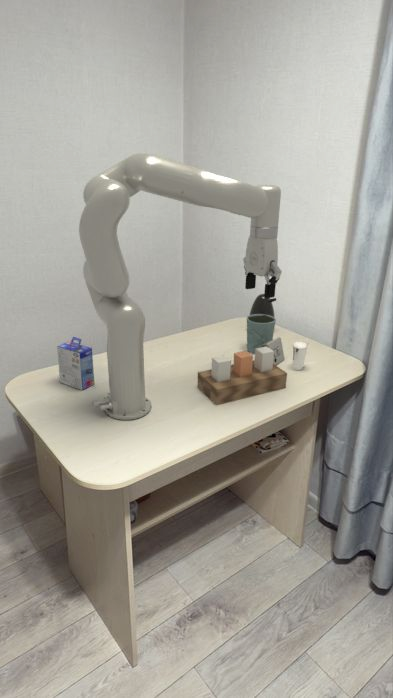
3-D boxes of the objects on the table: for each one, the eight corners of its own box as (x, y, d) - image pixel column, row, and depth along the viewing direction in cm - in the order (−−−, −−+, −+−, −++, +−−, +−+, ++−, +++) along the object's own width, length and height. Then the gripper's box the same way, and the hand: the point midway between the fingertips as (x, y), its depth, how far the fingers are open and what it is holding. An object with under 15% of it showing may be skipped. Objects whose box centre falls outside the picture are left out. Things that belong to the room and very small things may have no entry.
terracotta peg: (240, 378, 138) (241, 358, 136) (233, 372, 141) (234, 353, 139) (251, 375, 140) (252, 355, 137) (244, 370, 143) (245, 350, 140)
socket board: (216, 405, 133) (217, 389, 131) (197, 387, 142) (197, 372, 140) (285, 387, 143) (287, 373, 141) (263, 371, 152) (264, 357, 150)
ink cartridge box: (96, 383, 143) (92, 340, 138) (83, 391, 139) (78, 346, 133) (72, 375, 148) (68, 333, 142) (59, 382, 144) (54, 339, 138)
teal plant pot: (243, 353, 166) (245, 321, 161) (246, 342, 175) (248, 312, 170) (272, 356, 164) (274, 324, 159) (274, 345, 173) (276, 314, 168)
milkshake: (301, 373, 152) (304, 345, 148) (287, 367, 155) (290, 339, 151) (309, 369, 154) (312, 341, 150) (296, 364, 158) (299, 336, 154)
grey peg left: (217, 383, 135) (218, 362, 132) (211, 377, 138) (211, 357, 136) (229, 380, 137) (230, 360, 134) (223, 374, 140) (223, 355, 137)
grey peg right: (261, 373, 141) (262, 353, 139) (254, 368, 145) (255, 348, 142) (272, 370, 143) (274, 351, 140) (264, 365, 146) (266, 346, 144)
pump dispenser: (268, 337, 180) (271, 299, 173) (243, 332, 184) (245, 295, 178) (278, 329, 188) (281, 293, 182) (254, 324, 192) (256, 288, 186)
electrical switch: (272, 368, 155) (272, 344, 152) (260, 365, 158) (260, 342, 155) (284, 360, 161) (284, 337, 158) (273, 357, 164) (272, 335, 161)
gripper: (235, 228, 134) (232, 286, 141) (270, 238, 120) (265, 303, 127) (257, 227, 137) (253, 284, 144) (294, 237, 123) (288, 299, 130)
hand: (259, 292), depth 135 cm, fingers open, 9 cm apart
